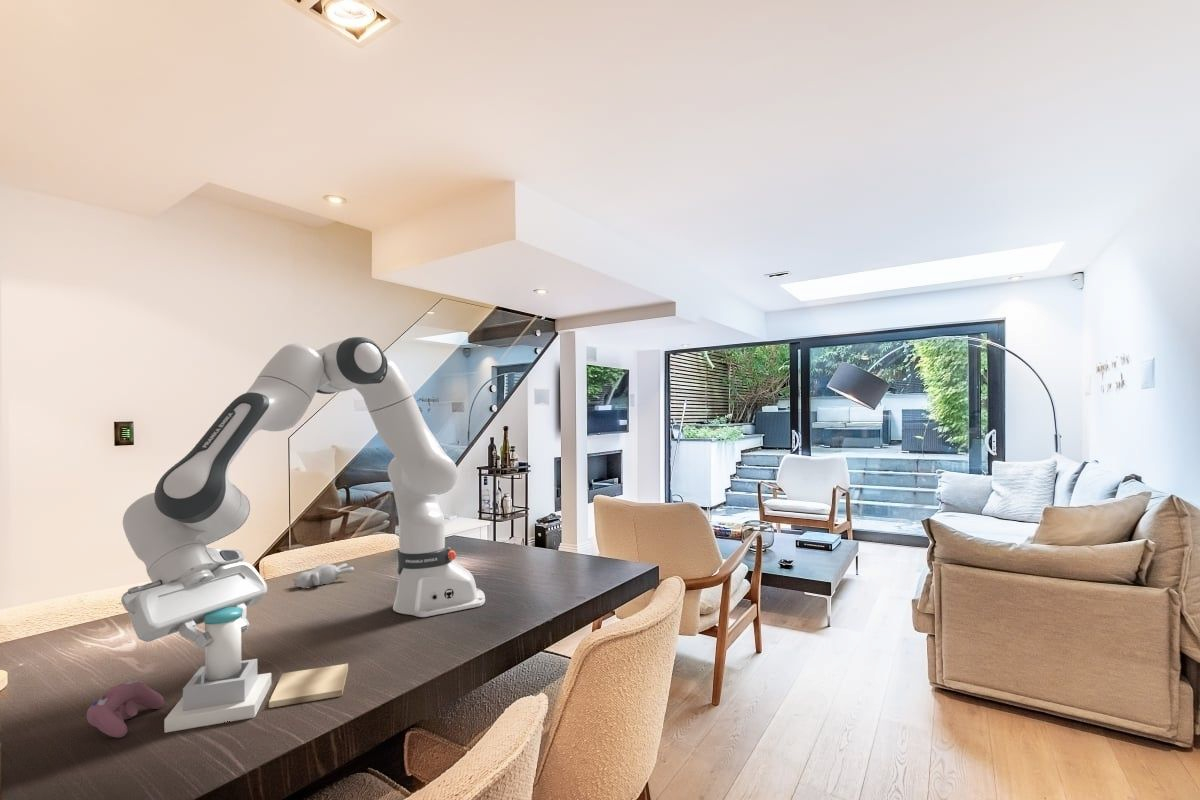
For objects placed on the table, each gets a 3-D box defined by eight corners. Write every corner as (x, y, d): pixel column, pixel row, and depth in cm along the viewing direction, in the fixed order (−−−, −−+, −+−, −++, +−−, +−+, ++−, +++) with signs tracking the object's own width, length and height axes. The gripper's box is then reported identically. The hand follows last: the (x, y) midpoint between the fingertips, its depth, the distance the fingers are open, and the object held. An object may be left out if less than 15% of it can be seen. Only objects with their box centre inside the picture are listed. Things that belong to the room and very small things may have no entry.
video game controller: (143, 716, 93) (122, 680, 93) (169, 702, 94) (149, 666, 94) (96, 752, 84) (73, 711, 84) (125, 736, 84) (103, 695, 84)
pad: (348, 668, 106) (348, 663, 106) (342, 695, 96) (342, 689, 96) (282, 678, 103) (282, 673, 103) (268, 707, 92) (268, 701, 92)
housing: (271, 683, 101) (271, 653, 101) (254, 717, 90) (254, 682, 90) (192, 696, 97) (192, 663, 97) (164, 732, 86) (164, 696, 86)
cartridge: (245, 663, 97) (245, 605, 97) (237, 676, 92) (236, 615, 92) (210, 668, 95) (210, 609, 95) (199, 682, 90) (199, 619, 90)
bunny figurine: (289, 571, 162) (343, 556, 172) (292, 589, 162) (346, 572, 172) (299, 578, 155) (354, 561, 165) (301, 596, 155) (357, 578, 165)
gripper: (125, 579, 87) (167, 651, 83) (249, 548, 106) (288, 605, 102) (107, 605, 88) (148, 677, 84) (233, 570, 107) (271, 627, 104)
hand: (226, 637), depth 93 cm, fingers closed on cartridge, 5 cm apart
